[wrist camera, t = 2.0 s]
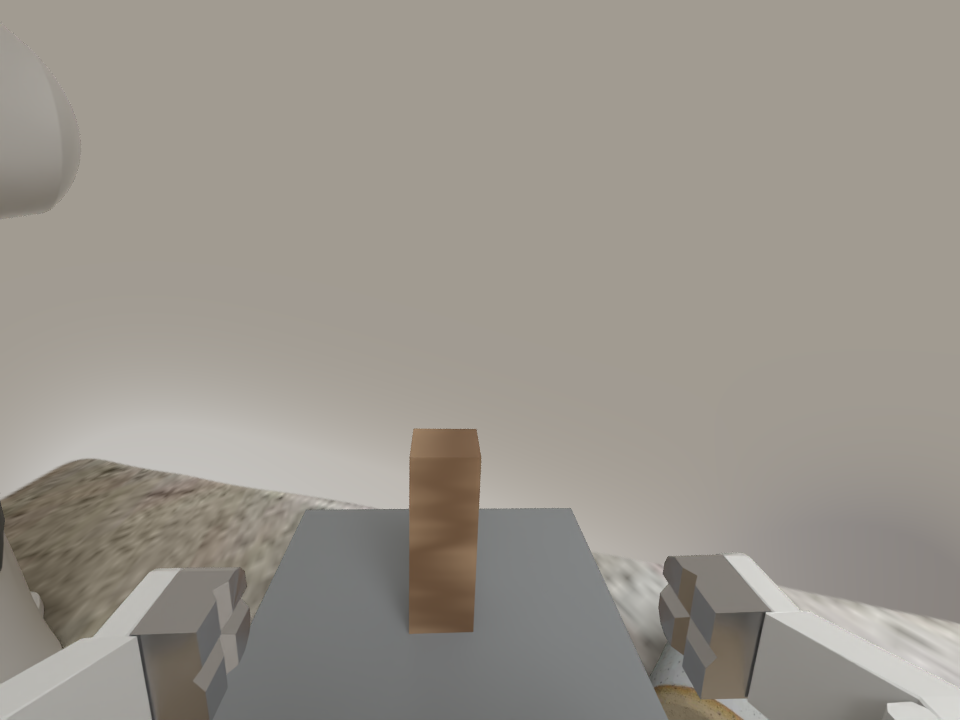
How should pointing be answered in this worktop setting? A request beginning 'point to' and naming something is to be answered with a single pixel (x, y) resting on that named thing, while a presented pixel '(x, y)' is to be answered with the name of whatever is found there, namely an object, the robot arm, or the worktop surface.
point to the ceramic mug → (692, 694)
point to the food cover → (439, 613)
